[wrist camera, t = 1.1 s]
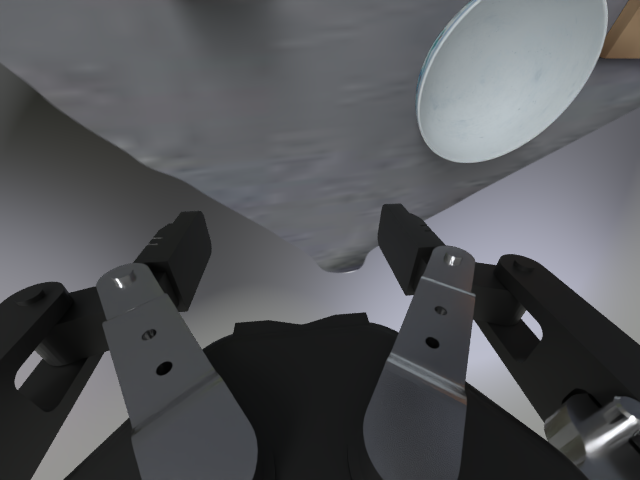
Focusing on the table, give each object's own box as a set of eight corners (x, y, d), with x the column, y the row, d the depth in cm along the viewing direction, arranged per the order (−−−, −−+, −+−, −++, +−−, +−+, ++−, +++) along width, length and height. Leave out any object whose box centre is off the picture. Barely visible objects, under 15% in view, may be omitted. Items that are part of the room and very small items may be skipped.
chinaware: (378, 31, 26) (398, 46, 20) (551, -80, 21) (636, -100, 16) (414, 153, 36) (434, 184, 30) (538, 94, 31) (587, 119, 25)
